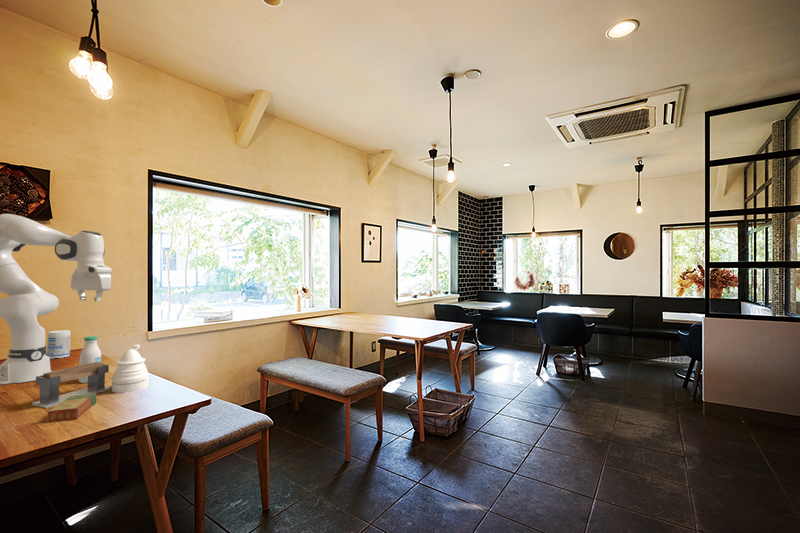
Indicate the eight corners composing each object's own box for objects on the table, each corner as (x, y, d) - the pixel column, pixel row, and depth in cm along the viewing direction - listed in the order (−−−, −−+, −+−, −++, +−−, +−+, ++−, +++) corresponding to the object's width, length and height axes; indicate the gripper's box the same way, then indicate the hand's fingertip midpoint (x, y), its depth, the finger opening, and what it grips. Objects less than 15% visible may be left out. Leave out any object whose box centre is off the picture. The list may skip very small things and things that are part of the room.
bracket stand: (32, 405, 137) (32, 377, 137) (97, 387, 158) (97, 362, 158) (46, 408, 134) (46, 379, 134) (110, 389, 155) (110, 364, 155)
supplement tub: (45, 360, 201) (45, 333, 201) (48, 356, 209) (49, 330, 209) (68, 357, 207) (69, 331, 207) (71, 354, 214) (71, 329, 215)
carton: (46, 423, 122) (46, 410, 122) (69, 406, 137) (69, 395, 137) (78, 420, 125) (78, 407, 125) (97, 403, 140) (97, 392, 140)
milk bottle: (88, 384, 162) (89, 338, 162) (74, 382, 164) (75, 337, 164) (105, 378, 170) (106, 335, 170) (91, 377, 171) (92, 334, 171)
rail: (43, 384, 138) (43, 373, 138) (95, 371, 155) (96, 362, 155) (50, 385, 137) (50, 374, 137) (102, 372, 154) (102, 362, 154)
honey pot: (139, 381, 166) (140, 341, 167) (154, 386, 160) (155, 345, 160) (105, 389, 155) (106, 347, 155) (120, 395, 149) (121, 350, 149)
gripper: (66, 268, 159) (65, 300, 159) (98, 268, 152) (98, 302, 152) (82, 268, 165) (82, 299, 165) (114, 268, 158) (114, 301, 158)
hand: (90, 300), depth 158 cm, fingers open, 8 cm apart
